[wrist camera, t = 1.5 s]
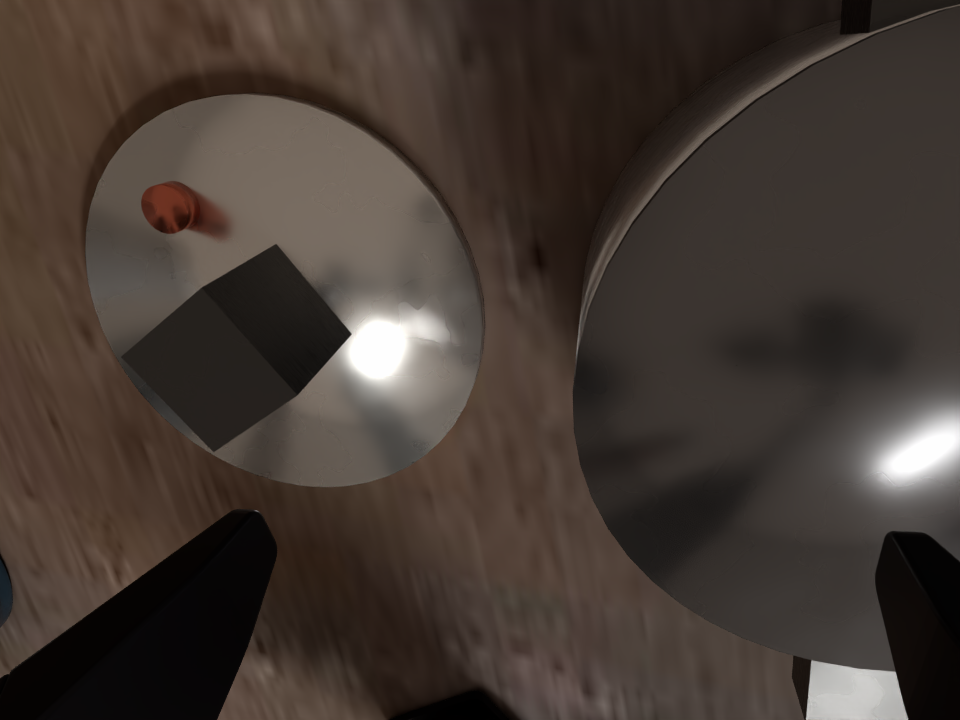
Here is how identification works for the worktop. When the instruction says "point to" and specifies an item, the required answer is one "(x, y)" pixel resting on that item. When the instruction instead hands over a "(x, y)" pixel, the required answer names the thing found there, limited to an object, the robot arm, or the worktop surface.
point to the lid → (285, 288)
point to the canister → (5, 595)
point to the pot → (786, 341)
